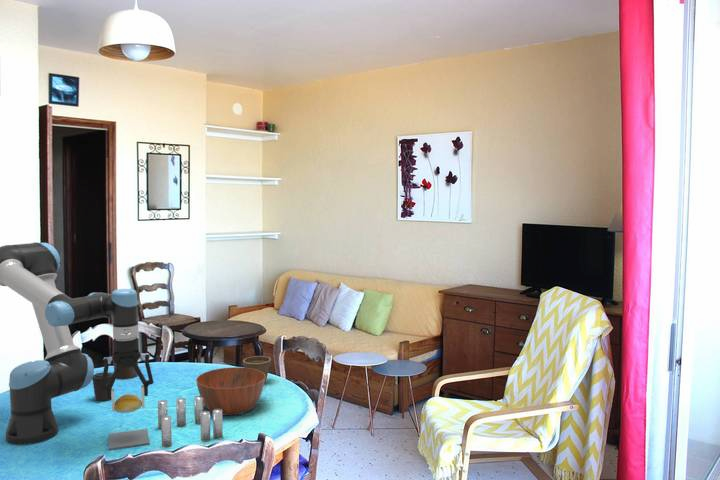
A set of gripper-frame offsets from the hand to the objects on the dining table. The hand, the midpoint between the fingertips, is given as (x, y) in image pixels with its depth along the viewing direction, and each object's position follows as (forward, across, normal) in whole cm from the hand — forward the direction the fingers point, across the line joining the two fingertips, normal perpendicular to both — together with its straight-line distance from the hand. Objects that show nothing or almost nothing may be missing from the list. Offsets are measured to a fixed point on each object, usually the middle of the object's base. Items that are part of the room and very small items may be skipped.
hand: (128, 407), depth 195 cm
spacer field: (+11, +19, -1) cm, 22 cm away
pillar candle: (+11, +1, +70) cm, 71 cm away
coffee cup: (+11, -8, +43) cm, 45 cm away
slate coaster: (+11, 0, 0) cm, 11 cm away
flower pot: (+11, +51, +41) cm, 66 cm away
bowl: (+11, +36, +17) cm, 41 cm away
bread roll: (+1, 0, 0) cm, 1 cm away
